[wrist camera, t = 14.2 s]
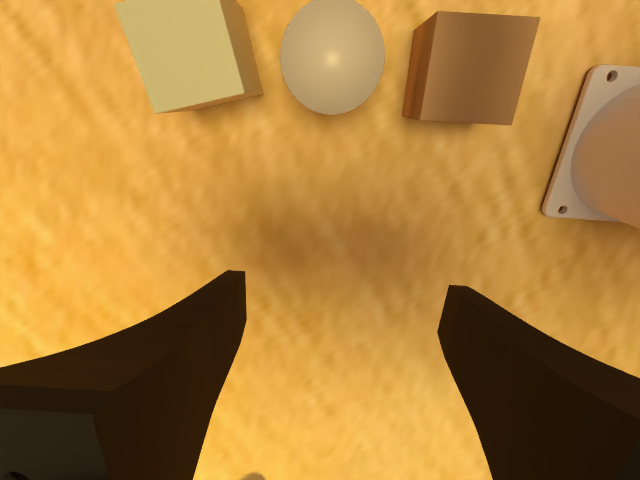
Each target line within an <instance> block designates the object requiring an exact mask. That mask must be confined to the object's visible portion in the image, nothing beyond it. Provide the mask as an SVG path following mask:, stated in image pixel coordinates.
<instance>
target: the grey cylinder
mask: <svg viewBox="0 0 640 480" xmlns="http://www.w3.org/2000/svg"><path fill="white" fill-rule="evenodd" d="M384 60H385V49H384V42H383V37H382V34H381V31H380V29H379V26H378V24H377V23H376V21H375V19H374V18H373V16H372V15H371V14H370V13H369V12H368V11H367V10H366V9H365V8H364V7H363V6H362V5H360V4H359V3H357V2H355V1H353V0H313V1H311V2H309V3H308V4H306V5H305V6H304V7H302V8H301V9H300V10H299V11H298V12H297V13H296V14H295V15H294V17H293V18H292V19H291V21H290V23H289V24H288V26H287V28H286V30H285V33H284V36H283V39H282V43H281V50H280V63H281V69H282V74H283V77H284V80H285V82H286V85H287V86H288V88H289V90H290V92H291V93H292V94H293V96H294V97H295V98H296V99H297V100H298V101H299V102H300V103H301V104H302V105H304V106H305V107H307V108H308V109H310V110H312V111H315V112H317V113H321V114H327V115H336V114H342V113H346V112H349V111H351V110H353V109H355V108H357V107H358V106H360V105H361V104H362V103H364V102H365V101H366V100H367V99H368V98H369V97H370V95H371V94H372V93H373V91H374V90H375V88H376V86H377V85H378V83H379V80H380V78H381V75H382V72H383V67H384Z"/></svg>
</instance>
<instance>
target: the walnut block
mask: <svg viewBox="0 0 640 480" xmlns="http://www.w3.org/2000/svg"><path fill="white" fill-rule="evenodd" d="M539 21H540V17H527V16H511V15H494V14H477V13H460V12H444V11H437V12H436V13H435V14H434V15H433V16H431V17H430V18H429V19H428V20H426V21H425V22H424V23H423V24H421V25H420V26H419V27H418V28H416V29H415V30H414V35H413V42H412V49H411V56H410V63H409V70H408V77H407V83H406V90H405V97H404V104H403V111H402V116H405V117H409V118H414V119H418V120H429V121H446V122H463V123H479V124H496V125H512V122H513V118H514V114H515V110H516V107H517V103H518V99H519V95H520V92H521V88H522V84H523V80H524V77H525V73H526V69H527V65H528V62H529V58H530V54H531V50H532V47H533V43H534V39H535V36H536V32H537V28H538V24H539Z"/></svg>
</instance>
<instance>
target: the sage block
mask: <svg viewBox="0 0 640 480" xmlns="http://www.w3.org/2000/svg"><path fill="white" fill-rule="evenodd" d="M114 6H115V9H116V11H117V14H118V17H119V19H120V22H121V25H122V27H123V30H124V33H125V35H126V38H127V41H128V43H129V46H130V49H131V51H132V54H133V57H134V59H135V62H136V65H137V67H138V70H139V73H140V75H141V78H142V81H143V83H144V86H145V89H146V91H147V94H148V97H149V99H150V102H151V105H152V107H153V110H154V113H155V114H159V113H170V112H181V111H192V110H197V109H202V108H206V107H210V106H215V105H219V104H223V103H228V102H232V101H236V100H241V99H245V98H249V97H254V96H258V95H262V94H263V90H262V86H261V82H260V78H259V74H258V70H257V66H256V62H255V58H254V54H253V50H252V46H251V42H250V38H249V34H248V30H247V26H246V22H245V18H244V14H243V10H242V7H241V6H240V5H239V4H238V3H237V2H236V0H126V1H123V2H119V3H115V4H114Z"/></svg>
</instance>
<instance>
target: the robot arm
mask: <svg viewBox="0 0 640 480" xmlns="http://www.w3.org/2000/svg"><path fill="white" fill-rule="evenodd" d="M609 72H611V78H610V80H609V81H607V79H606V77H607V75H608V73H609ZM561 206H563V209H562V210H561V211H560V212H558V209H559V208H560V207H561ZM542 212H543V214H545V215H546V216H548V217H556V218H571V219H586V220H601V221H615V222H624V223H626V224H629V225H631V226H634V227H636V228H638V229H640V67H636V66H621V65H607V64H605V65H597V66H595V67H593V68H592V69H591V70H590V71H589V73H588V75H587V77H586V80H585V83H584V86H583V89H582V92H581V95H580V98H579V101H578V103H577V106H576V109H575V112H574V115H573V118H572V121H571V124H570V127H569V130H568V133H567V136H566V139H565V142H564V145H563V147H562V150H561V153H560V156H559V159H558V162H557V165H556V168H555V171H554V174H553V177H552V180H551V183H550V186H549V188H548V191H547V194H546V197H545V200H544V203H543V206H542ZM246 320H247V317H246V285H245V271H232V270H227V271H226V272H224V273H222V274H221V275H219V276H218V277H216V278H215V279H214V280H212V281H211V282H209V283H208V284H206V285H205V286H203V287H202V288H200V289H199V290H197V291H196V292H194V293H193V294H191V295H190V296H188V297H186V298H185V299H183V300H181V301H180V302H178V303H176V304H175V305H173V306H171V307H169V308H168V309H166V310H164V311H162V312H161V313H159V314H157V315H155V316H153V317H151V318H149V319H147V320H144V321H142V322H140V323H138V324H136V325H134V326H131V327H129V328H127V329H124V330H122V331H119V332H117V333H114V334H112V335H109V336H106V337H104V338H101V339H99V340H96V341H93V342H90V343H87V344H84V345H81V346H78V347H75V348H72V349H69V350H65V351H62V352H59V353H55V354H52V355H48V356H45V357H41V358H37V359H33V360H29V361H25V362H21V363H17V364H13V365H9V366H5V367H1V368H0V480H193V477H194V473H195V470H196V466H197V463H198V459H199V456H200V452H201V449H202V445H203V442H204V439H205V435H206V432H207V429H208V425H209V422H210V419H211V415H212V412H213V410H214V407H215V404H216V401H217V399H218V396H219V394H220V392H221V389H222V387H223V384H224V382H225V380H226V377H227V375H228V372H229V370H230V368H231V365H232V363H233V360H234V358H235V356H236V353H237V351H238V348H239V346H240V343H241V339H242V335H243V332H244V328H245V324H246ZM437 333H438V336H439V340H440V344H441V347H442V351H443V354H444V357H445V360H446V362H447V364H448V366H449V369H450V371H451V373H452V375H453V378H454V380H455V382H456V384H457V387H458V389H459V391H460V393H461V395H462V398H463V400H464V402H465V404H466V406H467V409H468V411H469V413H470V415H471V417H472V420H473V422H474V425H475V427H476V430H477V432H478V435H479V438H480V441H481V444H482V447H483V450H484V453H485V456H486V459H487V462H488V465H489V469H490V472H491V475H492V478H493V480H640V378H638V377H635V376H633V375H630V374H628V373H626V372H623V371H621V370H619V369H616V368H614V367H612V366H609V365H607V364H605V363H602V362H600V361H598V360H596V359H594V358H591V357H589V356H587V355H585V354H583V353H581V352H579V351H577V350H575V349H573V348H571V347H569V346H567V345H565V344H563V343H561V342H559V341H557V340H555V339H554V338H552V337H550V336H548V335H547V334H545V333H543V332H541V331H540V330H538V329H536V328H534V327H533V326H531V325H529V324H528V323H526V322H524V321H523V320H521V319H519V318H518V317H516V316H515V315H513V314H511V313H510V312H508V311H507V310H505V309H504V308H502V307H501V306H499V305H497V304H496V303H494V302H493V301H491V300H490V299H488V298H487V297H485V296H483V295H482V294H480V293H478V292H477V291H475V290H473V289H471V288H469V287H467V286H458V285H449V288H448V292H447V296H446V300H445V304H444V308H443V312H442V316H441V320H440V324H439V328H438V332H437Z"/></svg>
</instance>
